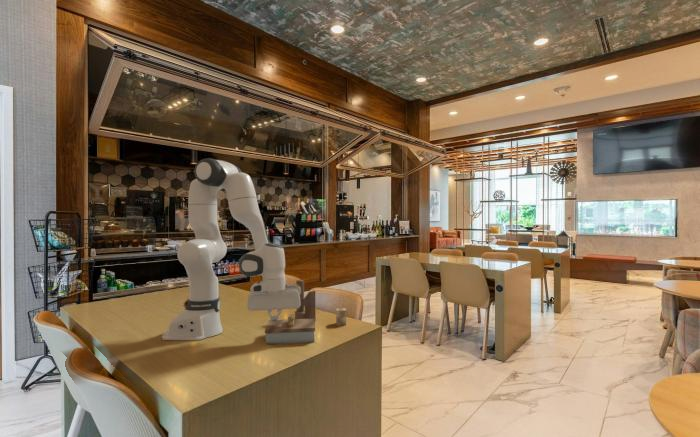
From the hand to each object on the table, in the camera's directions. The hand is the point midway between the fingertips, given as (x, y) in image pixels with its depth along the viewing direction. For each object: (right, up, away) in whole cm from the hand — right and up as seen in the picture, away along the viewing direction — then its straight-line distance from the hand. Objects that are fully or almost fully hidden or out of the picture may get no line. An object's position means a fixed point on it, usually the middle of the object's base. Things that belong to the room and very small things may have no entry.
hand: (274, 320), depth 134 cm
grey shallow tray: (+6, -7, +1) cm, 9 cm away
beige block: (+25, -7, +18) cm, 32 cm away
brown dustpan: (+9, -7, +24) cm, 27 cm away
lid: (+6, -3, +1) cm, 7 cm away
